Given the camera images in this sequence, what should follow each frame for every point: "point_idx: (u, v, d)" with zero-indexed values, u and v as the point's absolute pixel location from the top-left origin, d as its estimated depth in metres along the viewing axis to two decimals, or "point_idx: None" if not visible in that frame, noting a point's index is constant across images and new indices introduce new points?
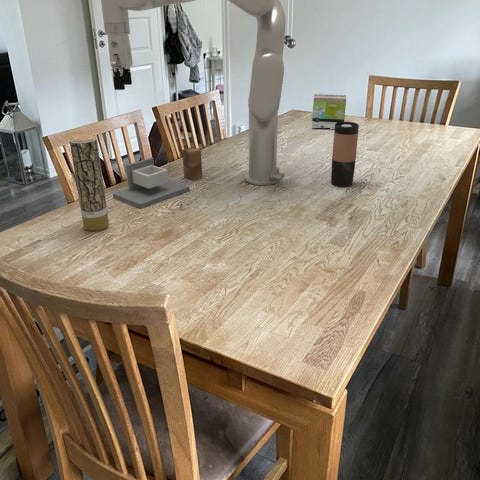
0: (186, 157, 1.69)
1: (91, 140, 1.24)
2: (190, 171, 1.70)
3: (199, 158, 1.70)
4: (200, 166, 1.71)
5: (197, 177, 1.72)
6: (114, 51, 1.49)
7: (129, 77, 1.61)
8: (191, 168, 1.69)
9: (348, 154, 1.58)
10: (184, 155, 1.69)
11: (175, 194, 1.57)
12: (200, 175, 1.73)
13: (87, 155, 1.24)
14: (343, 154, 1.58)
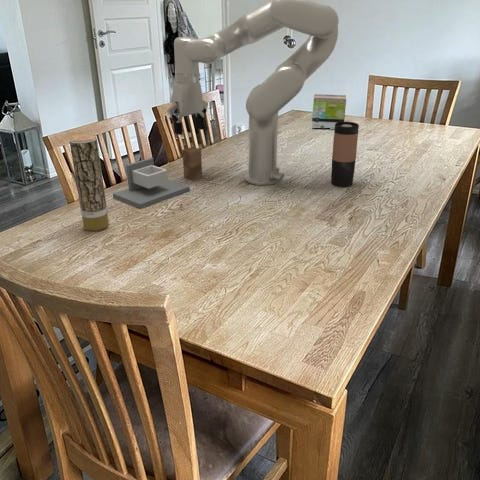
0: (186, 157, 1.69)
1: (91, 140, 1.24)
2: (190, 171, 1.70)
3: (199, 158, 1.70)
4: (200, 166, 1.71)
5: (197, 177, 1.72)
6: None
7: None
8: (191, 168, 1.69)
9: (348, 154, 1.58)
10: (184, 155, 1.69)
11: (175, 194, 1.57)
12: (200, 175, 1.73)
13: (87, 155, 1.24)
14: (343, 154, 1.58)
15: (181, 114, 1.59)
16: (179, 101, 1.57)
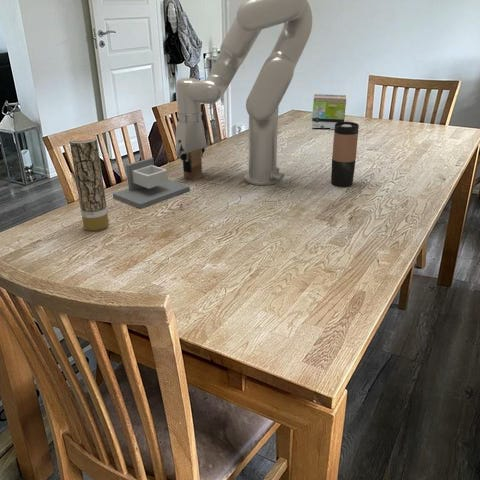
0: None
1: (91, 140, 1.24)
2: None
3: (199, 158, 1.70)
4: (200, 166, 1.71)
5: (197, 177, 1.72)
6: None
7: None
8: (191, 168, 1.69)
9: (348, 154, 1.58)
10: None
11: (175, 194, 1.57)
12: (200, 175, 1.73)
13: (87, 155, 1.24)
14: (343, 154, 1.58)
15: (184, 152, 1.65)
16: (182, 140, 1.63)
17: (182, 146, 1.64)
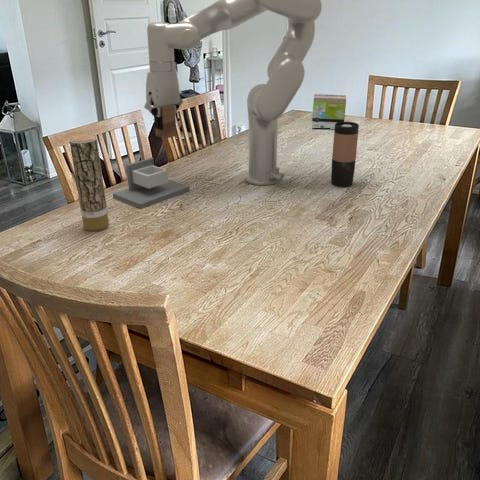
0: None
1: (91, 140, 1.24)
2: None
3: (172, 114, 1.54)
4: (173, 123, 1.56)
5: (170, 135, 1.56)
6: None
7: None
8: (163, 124, 1.53)
9: (348, 154, 1.58)
10: None
11: (175, 194, 1.57)
12: (174, 133, 1.57)
13: (87, 155, 1.24)
14: (343, 154, 1.58)
15: (155, 105, 1.49)
16: (152, 91, 1.47)
17: (152, 99, 1.48)
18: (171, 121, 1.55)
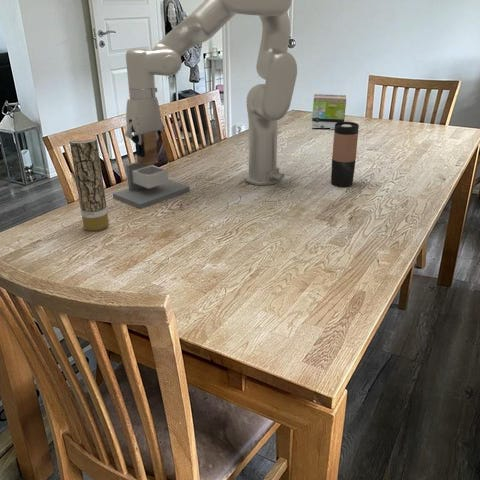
0: None
1: (91, 140, 1.24)
2: None
3: (154, 141, 1.50)
4: (155, 150, 1.52)
5: (152, 162, 1.52)
6: None
7: None
8: (144, 152, 1.50)
9: (348, 154, 1.58)
10: None
11: (175, 194, 1.57)
12: (156, 160, 1.53)
13: (87, 155, 1.24)
14: (343, 154, 1.58)
15: (136, 133, 1.45)
16: (133, 119, 1.44)
17: (133, 126, 1.45)
18: (153, 148, 1.51)
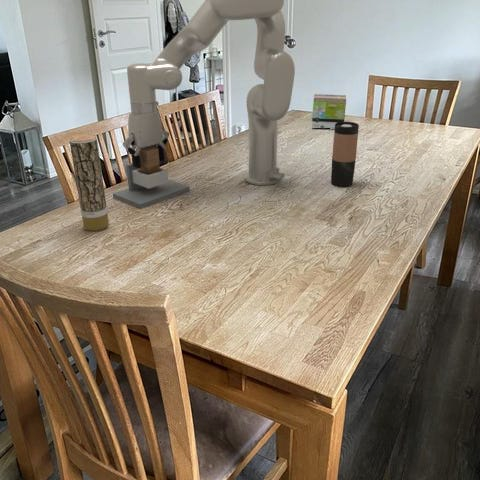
0: (141, 157, 1.52)
1: (91, 140, 1.24)
2: (146, 172, 1.53)
3: (156, 158, 1.53)
4: (158, 167, 1.54)
5: None
6: None
7: None
8: (147, 169, 1.52)
9: (348, 154, 1.58)
10: (139, 155, 1.52)
11: (175, 194, 1.57)
12: None
13: (87, 155, 1.24)
14: (343, 154, 1.58)
15: (138, 146, 1.47)
16: (135, 133, 1.45)
17: (135, 140, 1.46)
18: (155, 165, 1.54)
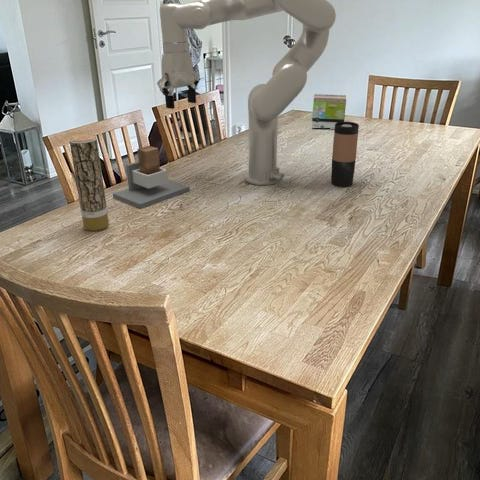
0: (141, 157, 1.52)
1: (91, 140, 1.24)
2: (146, 172, 1.53)
3: (156, 158, 1.53)
4: (158, 167, 1.54)
5: None
6: None
7: None
8: (147, 169, 1.52)
9: (348, 154, 1.58)
10: (139, 155, 1.52)
11: (175, 194, 1.57)
12: None
13: (87, 155, 1.24)
14: (343, 154, 1.58)
15: (172, 86, 1.51)
16: (169, 73, 1.49)
17: (169, 80, 1.50)
18: (155, 165, 1.54)
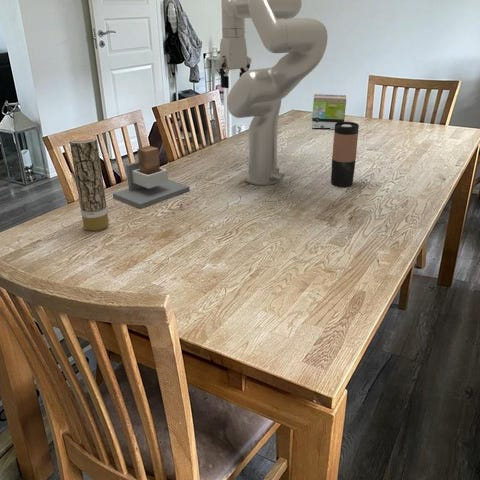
0: (141, 157, 1.52)
1: (91, 140, 1.24)
2: (146, 172, 1.53)
3: (156, 158, 1.53)
4: (158, 167, 1.54)
5: None
6: None
7: None
8: (147, 169, 1.52)
9: (348, 154, 1.58)
10: (139, 155, 1.52)
11: (175, 194, 1.57)
12: None
13: (87, 155, 1.24)
14: (343, 154, 1.58)
15: (228, 68, 1.68)
16: (226, 55, 1.67)
17: (226, 62, 1.67)
18: (155, 165, 1.54)
